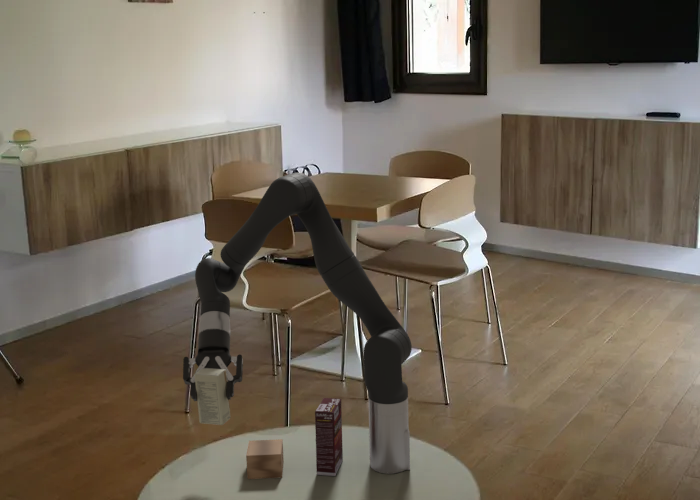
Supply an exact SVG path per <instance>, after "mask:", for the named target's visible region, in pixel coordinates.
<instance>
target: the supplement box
mask: <svg viewBox="0 0 700 500" xmlns="http://www.w3.org/2000/svg"><path fill="white" fill-rule="evenodd" d="M314 421H315V422H314V423H315V425H314V426H315V452H316V453H315V455H316V456H315V457H316V460H315V461H316V465H315V466H316V468H315V469H316V475H318V476H327V477H328V476H329V477H336V476H337V473H338V471H339V468H340V466H341V464H342V463H343V461H344V459H343V458H344V457H343V454H344V453H343V424H342V423H343V419H342V399H341V398H332V397H323V398H322V400H321V402H320V403H319V405H318V407H317V408H316V410H315V411H314Z"/></svg>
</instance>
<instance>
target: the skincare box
mask: <svg viewBox="0 0 700 500" xmlns="http://www.w3.org/2000/svg"><path fill="white" fill-rule="evenodd" d="M195 372H196V371H195ZM195 372H194V374H193V376H194V375H195V384H196V393H197V401H196V402H197V410H198V411H197V412H198V421H199V424H205V425H217V426H224V424H226V423H227V422H228V421H229V420H231V408H230V400H228V399H227V382H228V381H227V376H226V369H213V368H204V369H201V370H199V371H198V372H196V373H195Z"/></svg>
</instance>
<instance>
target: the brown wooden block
mask: <svg viewBox="0 0 700 500" xmlns="http://www.w3.org/2000/svg"><path fill="white" fill-rule="evenodd" d="M283 440H284V439H283V438H281V439H258V440H255V439H254V440H248V442H247V443H248V445H247V449H246V450H247V451H246V453H245V454H246V459H245V460H246V461H245V462H246V472H247V473H246V475H247V480H255V479H256V480H258V479H259V480H260V479H276V478H277V479H278V478H279V479H281V478H283V475H284V474H283V473H284V464H285V463H284V462H285V461H284V460H285V458H284V442H283Z"/></svg>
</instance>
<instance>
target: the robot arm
mask: <svg viewBox="0 0 700 500" xmlns="http://www.w3.org/2000/svg"><path fill="white" fill-rule="evenodd" d="M259 201H260V202H259V203H258V205H256V208H255V209H254V211H253V212H252V213H251V215H250V216H249V217H248V219H247V220H246V221H245V222H244V224H243V225H241V227H240V228H239V229H238V230H237V232H236V233H235V234H233V236H231V238H230V239H229V240H228V242H227V243H226V244H224V246H223V247H222V248H221V250H220V254H219V255H220V259H221V261H219V260H217V259H214V258H211V257H207V258H206V257H205V258H203V259H201V261H200V262H199V263H198V264H197V266H196V268H195V272H194V279H195V285H196V288H197V292H198V296H199V299H200V319H199V324H198V338H197V339H198V340H197V355H196V356H195V357H193V358H191V357H190V358H189V356H185V357H183V361H182V362H183V363H182V364H183V365H182V367H183V368H182V379H183V382H184V384H185V385H190V390H189V391H190V393H189V395H190V397H191V399H192V400H193V401H194V402H197V393H196V384H195V375H194V374H195V373H196V372H198V371H199V370H201V369H204V368H213V369H226V376H227V399H228V400H229V401H231V400H232V398H233V397H234V395H235V384H236V383H241V382H242V381H243V373H244V371H243V369H244V359H243V355H242V354H238V355H237V356H234V355H231V335H232V331H231V321H230V319H231V318H230V317H231V316H230V315H231V310H230V309H231V302H230V298H229V296H227V295H226V294H225V293H228V292H230V291H232V290H233V289H235V287H236V286H237V284H238V281H239V279H240V277H241V275H242V273H243V271H244V269H245V267H246V266H247V265H248V264H249V263H250V261H251V260H252V259H253V258H254V257H255V256H256V255H257V253H258V252H259V251H260V250H261V249H262V247H263V246H264V244H265V242H266V240H267V238H268V236H269V235H270V233H271V232H272V231H273V230H274V229H275V228H276V227H277V226H278V225H279V224H280V223H282V222H283V221H284V220H286V219H287V218H289V217H290V216H291V217H292V216H295V215H297V217H298V218H299V219H300V221H301V223H302V224H303V225H304V227H305V229H306V231H307V233H308V235H309V238H310V242H311V247H312V253H313V260H314V264H315V267H316V269H317V271H318V274H319V275H320V276H321V278H322V280H323V281H324V284H325V285H326V286H327V287H328V290H329V291H330V292H331V294H332V295H333V296H334V297H335V298H336V299H337V300H339V301H340V303H342V304H343V305H345V306H346V307H347V308H348V309H350V310H351V311H352V312H353V313H354V314H356V316H357V317H358V318H359V319H360V320H361V322H362V323H363V325H364V327H365V328H366V330H367V332H368V333H369V335H370V338H368V339H367V341H366V342H365V344H364V347H363V354H362V355H363V358H362V359H363V376H364V377H363V378H364V385H365V388H366V390H367V392H368V393H367V394H368V396H367V397H368V398H367V399H368V435H369V436H368V441H369V466H370V468H371V469H372V470H373V471H375V472H377V473H380V474H387V475H388V474H389V475H390V474H397V473H402V472H403V471H409V470H411V447H410V445H411V443H410V440H411V439H410V438H411V437H410V436H411V435H410V433H411V432H410V429H409V389H408V387H409V386H408V384H407V383H406V382H404V381H403V369H402V368H403V367H402V365H403V364H404V363H405V361H407V359H409V357H410V356H411V353H412V350H413V349H412V348H413V347H412V341H411V339H410V336H409V335H408V333H407V331H406V329H404V327H403V326H402V324H401V323H400V322H399V321H398V319H397V318H396V317H395V316H394V314H393V313H392V312H391V310H390V309H389V308H388V307H387V305H386V304H385V302H384V301H383V299H382V298H381V295H380V294H379V292H378V291H377V289H376V287H375V286H374V284H373V283H372V282H371V279H370V278H369V276H368V275H367V273H366V271H365V270H364V268H363V266H362V264H361V263H360V260H359V259H358V258H357V256H356V254H355V253H354V252H353V250H352V249H351V248H350V246H349V244H348V242H346V239H345V237H344V236H343V234H342V233H341V231H340V228H338V226H337V224H336V222H335V221H334V219H333V218H332V215H331V214H330V211H329V209H328V208H327V205H326V204H325V201H324V199H323V197H322V196H321V193H320V191H319V190H318V188H317V185H316V184H315V182H314V181H313V179H311V178H310V177H309V176H308V175H306V174H305V173H303V172H293V173H290V174H286V175H284V176H280V177H278V178H276V179H275V180H273V181H272V183H270V185H269V187H268V188H267V189H266V191H265V193H264V194H263V196H262V198H261V200H259ZM231 363H233V365H234V366H235V367H236V369H235V375H233V374H232V373H231V372H230V370H229V366H230V364H231ZM195 364H196V365H197V367H198V368H197V369H196V371H195V372H194V374H193V376H192V377H191V369H192V368H193V367H194V365H195Z"/></svg>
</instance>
